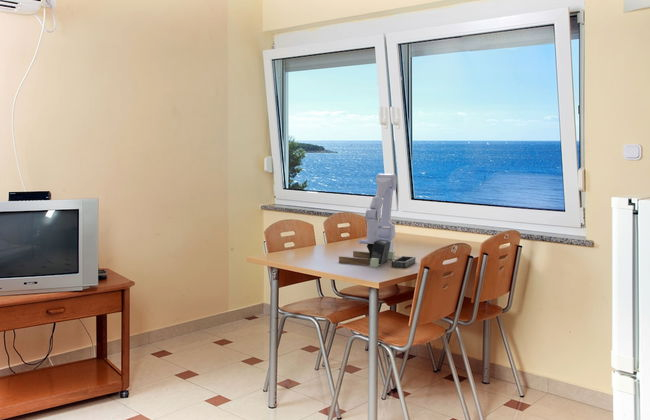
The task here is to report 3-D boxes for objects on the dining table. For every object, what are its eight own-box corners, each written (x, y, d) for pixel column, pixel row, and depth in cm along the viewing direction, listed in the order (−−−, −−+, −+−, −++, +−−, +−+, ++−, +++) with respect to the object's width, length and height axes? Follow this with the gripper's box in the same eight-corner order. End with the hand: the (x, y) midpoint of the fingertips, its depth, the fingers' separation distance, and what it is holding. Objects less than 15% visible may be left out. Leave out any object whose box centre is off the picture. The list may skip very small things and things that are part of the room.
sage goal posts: (389, 258, 333) (389, 250, 332) (394, 258, 331) (394, 251, 331) (370, 266, 309) (370, 258, 309) (376, 267, 308) (376, 259, 308)
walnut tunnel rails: (354, 256, 338) (354, 250, 338) (382, 258, 331) (382, 253, 331) (338, 262, 320) (338, 256, 320) (368, 265, 313) (368, 259, 313)
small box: (375, 257, 327) (379, 238, 325) (387, 261, 325) (391, 241, 323) (368, 261, 317) (373, 241, 316) (380, 264, 315) (385, 244, 313)
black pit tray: (402, 261, 324) (402, 256, 324) (415, 262, 321) (415, 257, 321) (391, 266, 310) (391, 261, 310) (405, 268, 307) (405, 262, 307)
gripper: (356, 231, 321) (355, 258, 322) (383, 234, 314) (382, 261, 315) (361, 230, 327) (360, 256, 328) (388, 232, 320) (387, 259, 322)
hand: (371, 258), depth 322 cm, fingers closed, pressing on small box
